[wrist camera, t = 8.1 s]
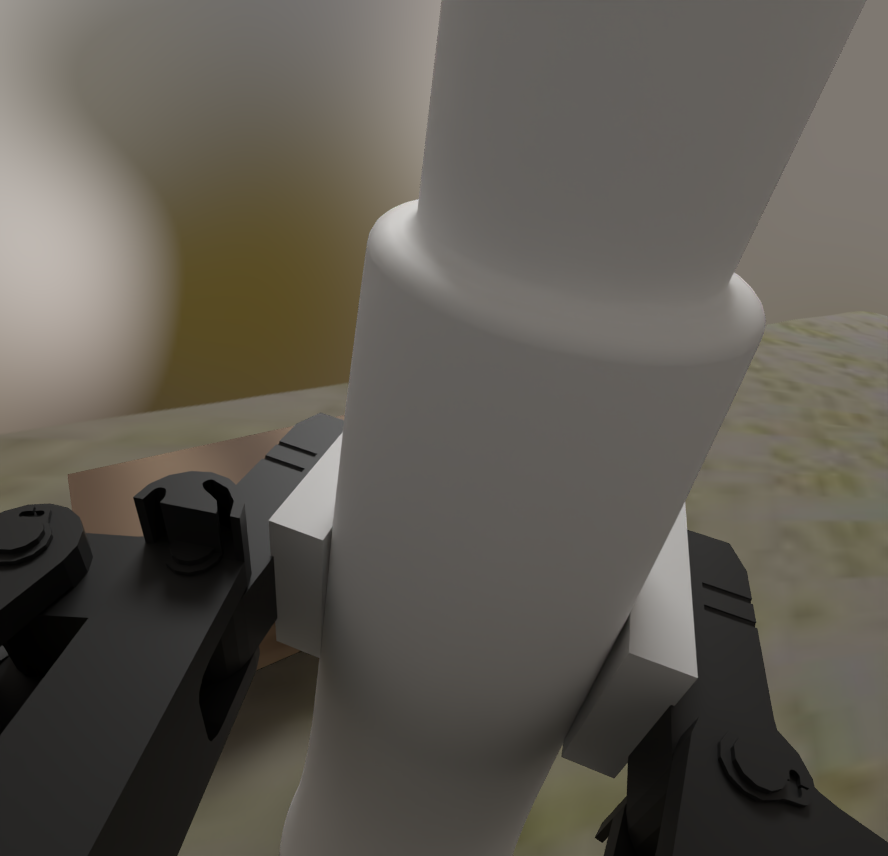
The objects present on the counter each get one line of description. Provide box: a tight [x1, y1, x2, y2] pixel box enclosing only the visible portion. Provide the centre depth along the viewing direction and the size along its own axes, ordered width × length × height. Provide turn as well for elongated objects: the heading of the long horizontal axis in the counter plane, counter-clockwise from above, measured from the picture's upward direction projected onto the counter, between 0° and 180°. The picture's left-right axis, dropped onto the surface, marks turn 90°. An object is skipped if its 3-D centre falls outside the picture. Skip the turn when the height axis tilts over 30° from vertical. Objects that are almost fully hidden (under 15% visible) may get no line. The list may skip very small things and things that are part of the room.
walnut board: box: [68, 415, 345, 670], centre depth 22 cm, size 14×9×3 cm, turn 122°
